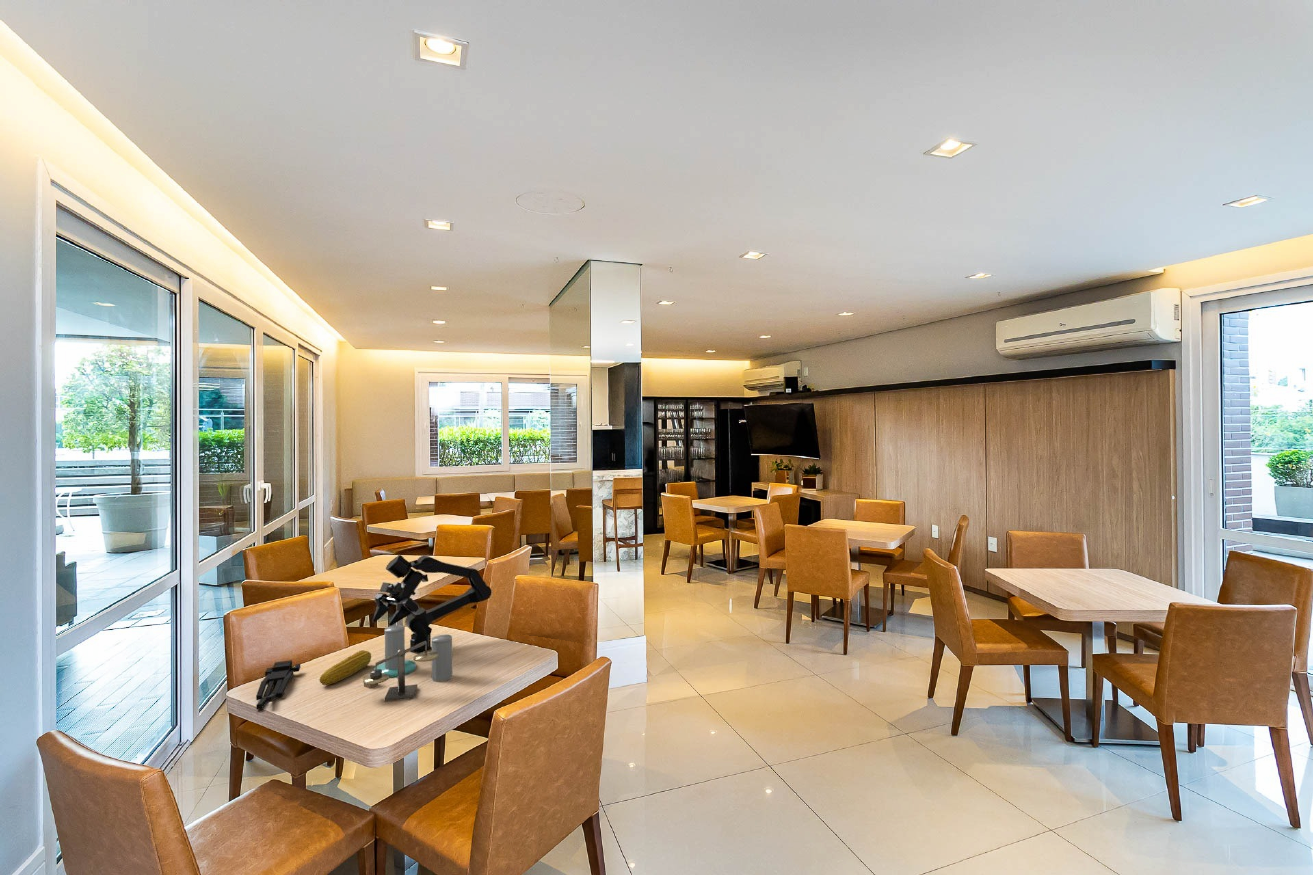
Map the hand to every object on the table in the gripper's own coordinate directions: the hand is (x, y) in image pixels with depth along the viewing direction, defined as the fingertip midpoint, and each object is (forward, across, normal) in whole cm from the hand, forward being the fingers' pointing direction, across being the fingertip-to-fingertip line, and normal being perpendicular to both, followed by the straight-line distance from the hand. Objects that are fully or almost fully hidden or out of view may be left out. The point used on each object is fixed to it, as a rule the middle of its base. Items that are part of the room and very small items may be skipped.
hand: (381, 623), depth 207 cm
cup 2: (+9, +31, +10) cm, 34 cm away
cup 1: (+11, +11, +7) cm, 17 cm away
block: (+20, +16, -1) cm, 26 cm away
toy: (+32, -7, -12) cm, 35 cm away
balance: (+20, +31, -1) cm, 37 cm away
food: (+19, +1, +1) cm, 19 cm away
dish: (+11, +11, +8) cm, 18 cm away
